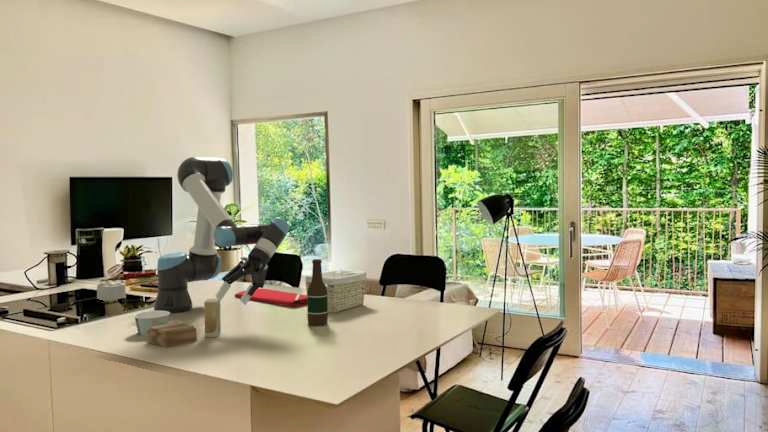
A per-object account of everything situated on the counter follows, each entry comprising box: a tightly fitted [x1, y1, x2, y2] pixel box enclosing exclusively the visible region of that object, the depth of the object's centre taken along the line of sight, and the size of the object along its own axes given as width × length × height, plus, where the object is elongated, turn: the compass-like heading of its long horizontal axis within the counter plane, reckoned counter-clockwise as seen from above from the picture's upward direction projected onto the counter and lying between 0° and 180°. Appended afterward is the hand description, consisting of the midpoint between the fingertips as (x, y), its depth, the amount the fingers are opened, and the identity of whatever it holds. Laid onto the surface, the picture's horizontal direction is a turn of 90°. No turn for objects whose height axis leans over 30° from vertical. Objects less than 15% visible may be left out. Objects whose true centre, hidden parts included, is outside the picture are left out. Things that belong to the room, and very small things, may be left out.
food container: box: [133, 310, 171, 337], centre depth 204 cm, size 12×12×6 cm
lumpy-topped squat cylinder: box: [96, 279, 127, 301], centre depth 266 cm, size 10×13×9 cm
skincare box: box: [203, 297, 222, 338], centre depth 199 cm, size 6×4×12 cm
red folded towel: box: [234, 288, 307, 308], centre depth 263 cm, size 16×41×4 cm, turn 50°
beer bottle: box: [306, 258, 329, 327], centre depth 214 cm, size 8×8×24 cm
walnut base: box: [147, 321, 198, 349], centre depth 191 cm, size 11×11×5 cm
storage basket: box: [304, 269, 367, 314], centre depth 244 cm, size 24×16×15 cm
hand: (230, 300), depth 203 cm, fingers open, 13 cm apart
